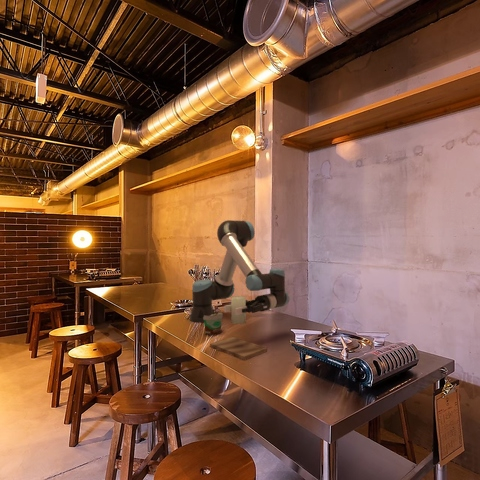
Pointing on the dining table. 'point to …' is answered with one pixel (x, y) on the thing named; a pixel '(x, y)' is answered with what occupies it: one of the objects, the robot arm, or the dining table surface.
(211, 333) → the food container
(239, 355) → the walnut board
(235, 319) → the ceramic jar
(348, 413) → the dining table surface
